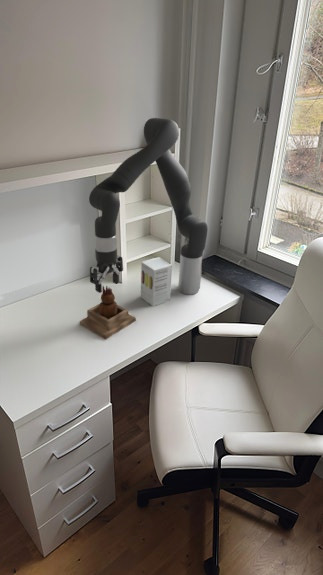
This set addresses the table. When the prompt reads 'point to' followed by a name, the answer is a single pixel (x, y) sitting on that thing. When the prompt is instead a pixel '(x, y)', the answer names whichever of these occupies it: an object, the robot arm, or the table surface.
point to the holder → (107, 321)
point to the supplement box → (156, 281)
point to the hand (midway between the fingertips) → (107, 287)
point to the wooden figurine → (108, 304)
